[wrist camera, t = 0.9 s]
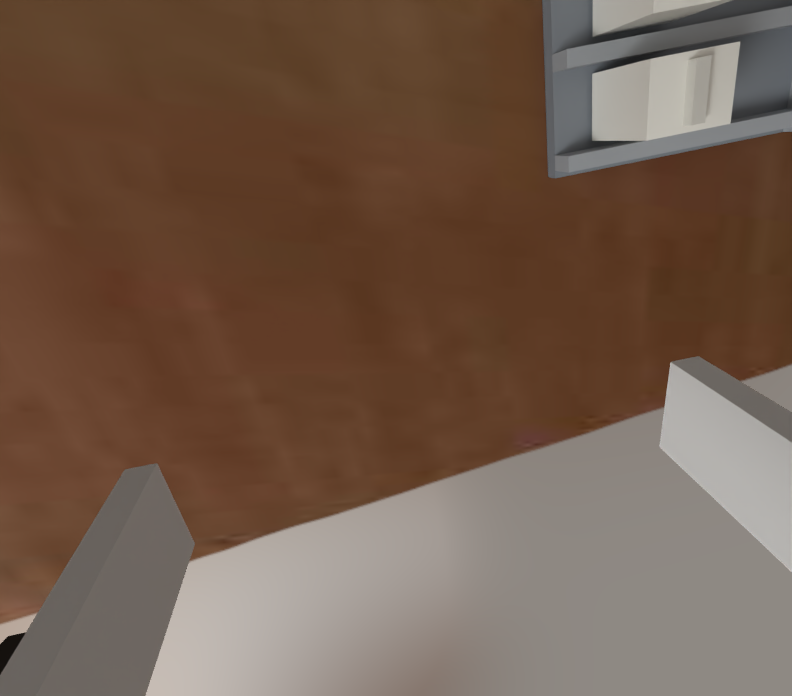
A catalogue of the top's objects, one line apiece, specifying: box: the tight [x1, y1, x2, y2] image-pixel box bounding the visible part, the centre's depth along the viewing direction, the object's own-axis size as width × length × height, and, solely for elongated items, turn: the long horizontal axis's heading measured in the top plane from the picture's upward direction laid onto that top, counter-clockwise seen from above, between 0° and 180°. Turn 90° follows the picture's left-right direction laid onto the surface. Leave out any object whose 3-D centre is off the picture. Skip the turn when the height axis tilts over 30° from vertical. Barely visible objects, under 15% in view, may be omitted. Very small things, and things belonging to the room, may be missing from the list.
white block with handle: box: [592, 41, 740, 141], centre depth 28 cm, size 4×5×7 cm
